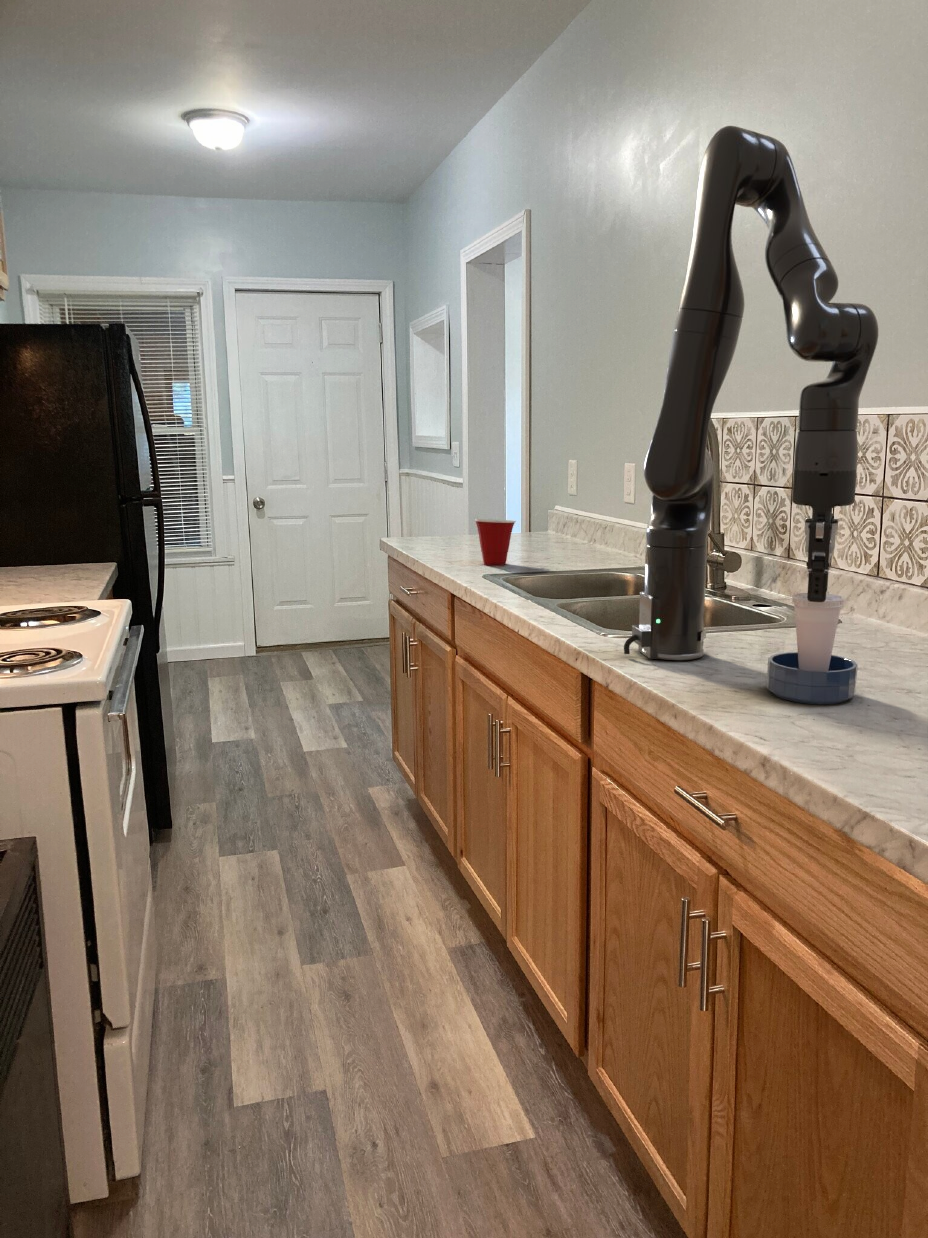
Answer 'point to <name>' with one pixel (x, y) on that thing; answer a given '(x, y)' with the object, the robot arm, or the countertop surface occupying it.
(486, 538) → the plastic cup
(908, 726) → the countertop surface
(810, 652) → the smoothie
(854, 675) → the bowl
